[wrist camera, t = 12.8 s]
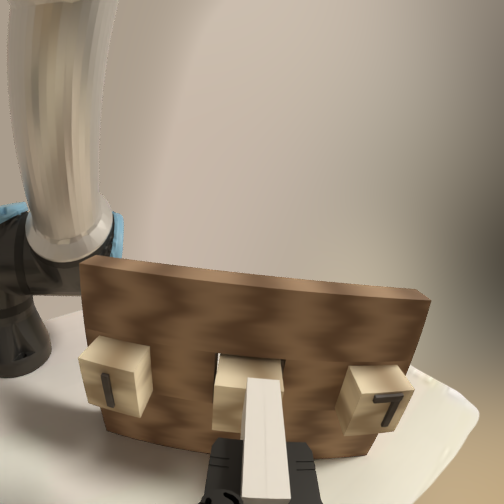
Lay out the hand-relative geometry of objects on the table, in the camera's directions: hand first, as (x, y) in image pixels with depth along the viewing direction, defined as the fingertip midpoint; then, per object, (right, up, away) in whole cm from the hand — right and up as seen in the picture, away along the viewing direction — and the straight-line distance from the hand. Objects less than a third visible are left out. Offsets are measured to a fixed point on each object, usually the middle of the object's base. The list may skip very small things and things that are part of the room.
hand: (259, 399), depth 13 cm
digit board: (-2, -15, +14) cm, 21 cm away
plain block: (-1, -6, +12) cm, 13 cm away
